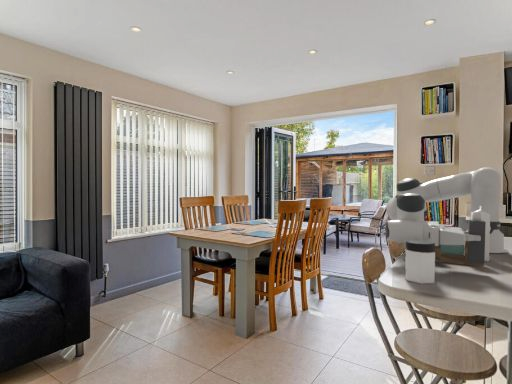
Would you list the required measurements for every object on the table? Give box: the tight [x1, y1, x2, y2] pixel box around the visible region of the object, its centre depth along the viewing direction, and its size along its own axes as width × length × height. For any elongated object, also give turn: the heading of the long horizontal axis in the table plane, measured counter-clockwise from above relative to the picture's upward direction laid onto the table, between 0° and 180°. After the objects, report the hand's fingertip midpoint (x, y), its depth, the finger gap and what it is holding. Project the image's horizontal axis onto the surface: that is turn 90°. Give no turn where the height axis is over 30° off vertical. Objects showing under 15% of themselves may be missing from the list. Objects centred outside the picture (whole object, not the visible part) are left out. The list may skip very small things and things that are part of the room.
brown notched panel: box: [434, 241, 485, 267], centre depth 125 cm, size 2×20×12 cm, turn 61°
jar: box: [404, 240, 436, 285], centre depth 100 cm, size 9×8×12 cm
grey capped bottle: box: [467, 212, 486, 264], centre depth 110 cm, size 4×4×17 cm
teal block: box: [441, 245, 464, 256], centre depth 130 cm, size 8×8×7 cm
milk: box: [470, 206, 490, 262], centre depth 132 cm, size 6×6×22 cm
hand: (479, 236), depth 109 cm, fingers closed on grey capped bottle, 4 cm apart
